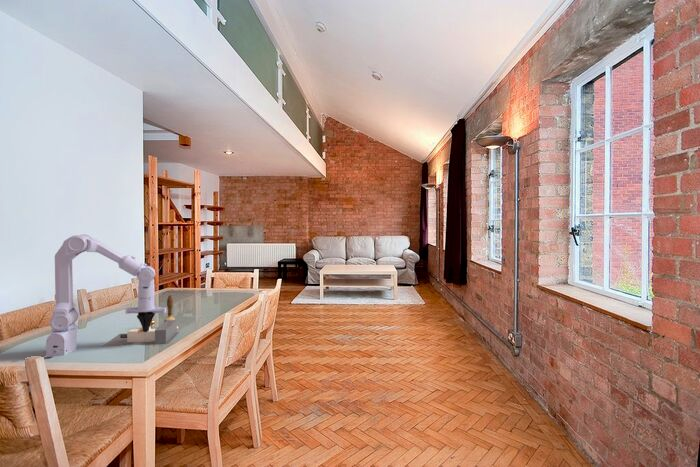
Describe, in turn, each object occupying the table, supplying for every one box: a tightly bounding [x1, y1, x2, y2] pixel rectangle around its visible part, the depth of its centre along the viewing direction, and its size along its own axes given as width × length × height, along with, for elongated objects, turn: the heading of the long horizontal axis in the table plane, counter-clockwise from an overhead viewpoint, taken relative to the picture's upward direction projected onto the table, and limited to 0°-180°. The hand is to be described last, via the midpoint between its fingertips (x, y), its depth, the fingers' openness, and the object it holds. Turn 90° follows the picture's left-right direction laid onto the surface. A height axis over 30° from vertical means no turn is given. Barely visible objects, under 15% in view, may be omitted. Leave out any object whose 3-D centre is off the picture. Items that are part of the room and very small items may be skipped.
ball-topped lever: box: [138, 319, 156, 333], centre depth 153 cm, size 15×2×1 cm, turn 10°
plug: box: [120, 326, 157, 343], centre depth 150 cm, size 4×17×5 cm, turn 100°
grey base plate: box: [102, 319, 180, 347], centre depth 153 cm, size 16×24×6 cm, turn 100°
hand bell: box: [163, 294, 179, 330], centre depth 168 cm, size 8×8×16 cm
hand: (146, 331), depth 147 cm, fingers closed
